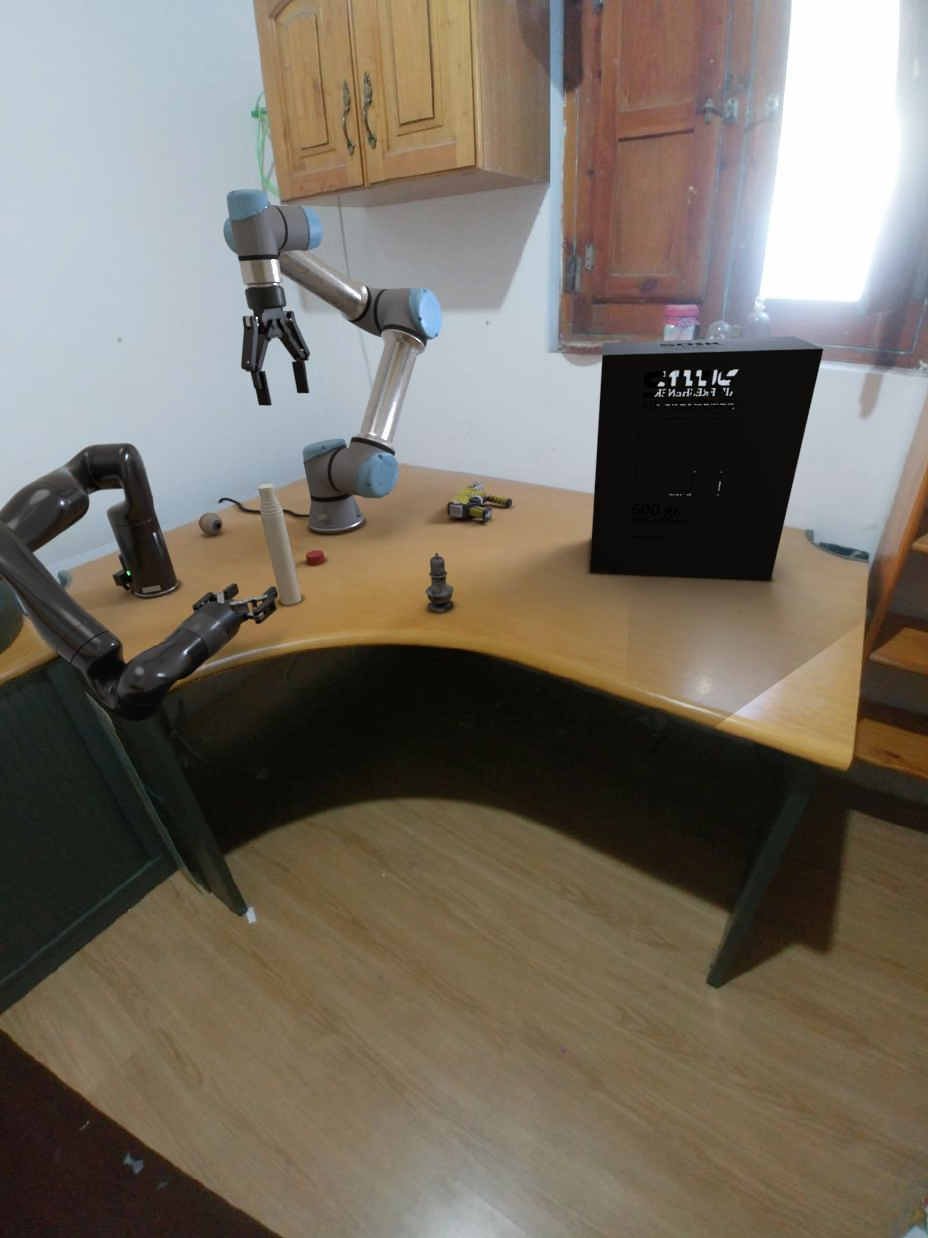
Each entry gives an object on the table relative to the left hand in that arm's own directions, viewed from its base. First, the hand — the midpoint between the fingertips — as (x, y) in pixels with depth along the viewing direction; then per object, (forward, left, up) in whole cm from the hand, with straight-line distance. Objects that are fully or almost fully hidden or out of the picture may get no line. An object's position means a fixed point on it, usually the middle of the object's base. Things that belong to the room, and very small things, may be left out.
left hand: (255, 589), depth 118 cm
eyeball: (-42, +44, -8) cm, 61 cm away
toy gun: (+29, +72, -8) cm, 78 cm away
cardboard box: (+80, +45, -8) cm, 92 cm away
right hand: (-4, +31, +30) cm, 43 cm away
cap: (-4, +31, -7) cm, 32 cm away
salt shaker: (+33, +14, -8) cm, 37 cm away
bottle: (0, +11, -8) cm, 14 cm away
